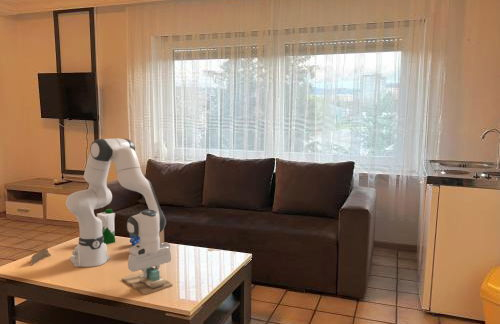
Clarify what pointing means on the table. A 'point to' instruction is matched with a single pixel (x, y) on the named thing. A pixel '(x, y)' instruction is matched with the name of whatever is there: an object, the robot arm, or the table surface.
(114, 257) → the table surface
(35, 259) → the wood plank
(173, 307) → the table surface
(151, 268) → the block
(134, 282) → the wooden board
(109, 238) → the milk carton
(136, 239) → the grapes
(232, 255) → the table surface
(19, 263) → the table surface
